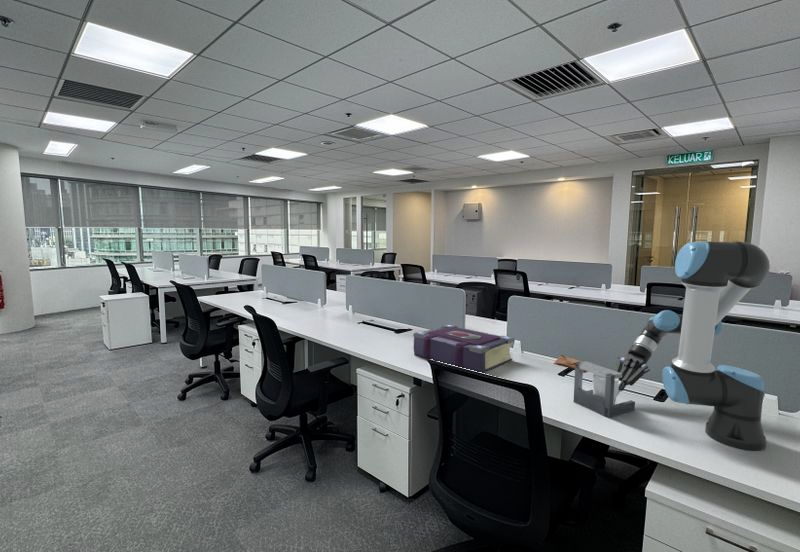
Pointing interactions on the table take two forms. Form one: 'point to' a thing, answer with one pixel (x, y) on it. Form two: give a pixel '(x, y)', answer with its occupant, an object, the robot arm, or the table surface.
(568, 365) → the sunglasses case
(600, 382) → the cup
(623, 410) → the grey plastic frame
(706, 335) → the robot arm
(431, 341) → the book
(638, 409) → the table surface
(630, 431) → the table surface
